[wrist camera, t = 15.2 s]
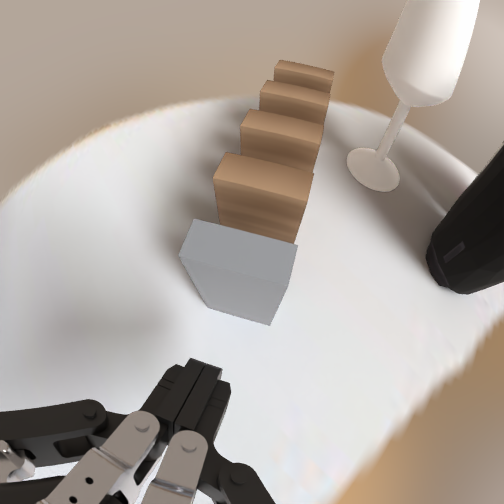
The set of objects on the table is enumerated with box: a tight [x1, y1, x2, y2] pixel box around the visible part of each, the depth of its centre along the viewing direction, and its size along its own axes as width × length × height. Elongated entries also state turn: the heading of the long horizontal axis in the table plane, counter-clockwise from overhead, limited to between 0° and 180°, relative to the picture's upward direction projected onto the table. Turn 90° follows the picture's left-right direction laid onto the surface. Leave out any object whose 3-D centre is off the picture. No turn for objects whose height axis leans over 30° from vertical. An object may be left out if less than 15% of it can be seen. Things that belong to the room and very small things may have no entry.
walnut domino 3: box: [240, 109, 324, 173], centre depth 20 cm, size 2×5×10 cm, turn 73°
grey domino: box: [178, 219, 298, 326], centre depth 17 cm, size 2×5×10 cm, turn 74°
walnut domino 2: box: [259, 80, 330, 125], centre depth 22 cm, size 2×5×10 cm, turn 73°
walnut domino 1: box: [274, 60, 334, 94], centre depth 24 cm, size 2×5×10 cm, turn 73°
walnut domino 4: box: [213, 152, 314, 244], centre depth 19 cm, size 2×5×10 cm, turn 73°
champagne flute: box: [347, 0, 480, 192], centre depth 17 cm, size 7×7×24 cm
